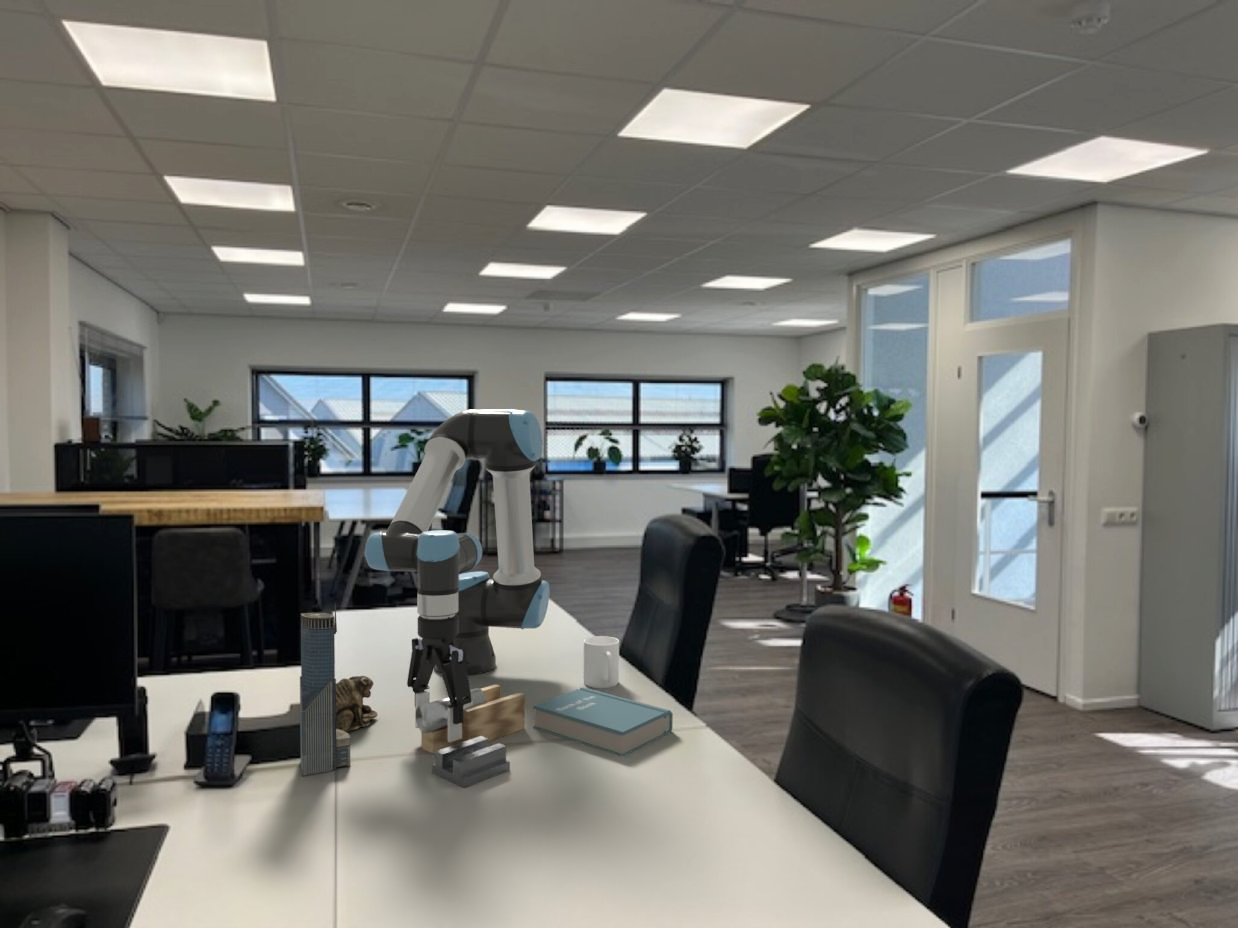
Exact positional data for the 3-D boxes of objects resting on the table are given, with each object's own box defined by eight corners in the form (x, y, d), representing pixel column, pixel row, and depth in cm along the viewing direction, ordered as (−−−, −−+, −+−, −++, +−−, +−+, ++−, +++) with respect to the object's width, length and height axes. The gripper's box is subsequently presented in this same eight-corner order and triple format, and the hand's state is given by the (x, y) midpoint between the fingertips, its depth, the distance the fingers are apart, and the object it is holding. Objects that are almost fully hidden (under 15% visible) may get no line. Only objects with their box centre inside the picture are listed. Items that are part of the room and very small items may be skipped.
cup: (612, 676, 203) (613, 634, 203) (628, 691, 192) (628, 647, 191) (579, 679, 201) (579, 637, 200) (593, 695, 189) (593, 650, 189)
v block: (463, 787, 141) (463, 764, 141) (431, 772, 147) (431, 749, 147) (509, 769, 148) (509, 747, 148) (477, 755, 154) (477, 734, 154)
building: (360, 760, 152) (359, 595, 150) (327, 780, 143) (325, 605, 142) (313, 752, 155) (311, 591, 153) (278, 771, 146) (276, 600, 145)
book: (533, 729, 169) (533, 705, 169) (585, 708, 181) (585, 685, 181) (622, 758, 155) (622, 731, 155) (672, 733, 168) (672, 708, 167)
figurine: (388, 723, 171) (387, 674, 170) (321, 742, 160) (321, 690, 160) (372, 715, 175) (371, 668, 174) (306, 734, 164) (305, 683, 164)
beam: (495, 717, 174) (495, 684, 174) (524, 728, 168) (524, 694, 168) (413, 744, 159) (413, 708, 159) (441, 757, 153) (441, 719, 153)
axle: (470, 708, 166) (472, 684, 166) (486, 717, 163) (488, 693, 162) (414, 726, 157) (416, 701, 156) (430, 737, 154) (432, 711, 153)
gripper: (492, 620, 152) (491, 742, 153) (420, 602, 167) (420, 713, 168) (458, 628, 147) (458, 754, 148) (387, 608, 161) (387, 723, 163)
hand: (438, 732), depth 158 cm, fingers open, 9 cm apart
